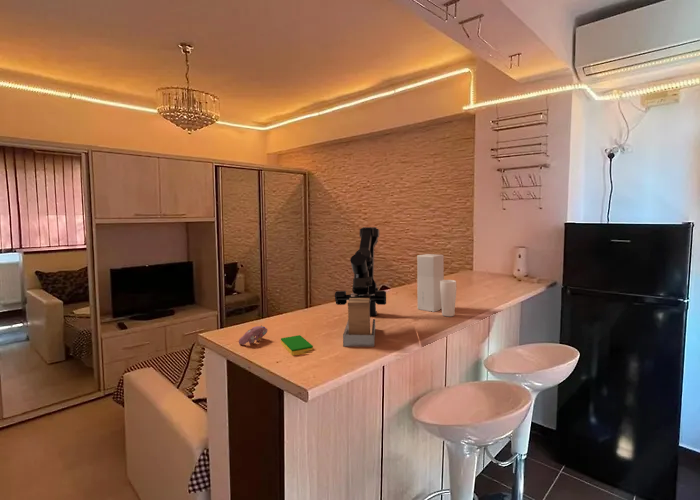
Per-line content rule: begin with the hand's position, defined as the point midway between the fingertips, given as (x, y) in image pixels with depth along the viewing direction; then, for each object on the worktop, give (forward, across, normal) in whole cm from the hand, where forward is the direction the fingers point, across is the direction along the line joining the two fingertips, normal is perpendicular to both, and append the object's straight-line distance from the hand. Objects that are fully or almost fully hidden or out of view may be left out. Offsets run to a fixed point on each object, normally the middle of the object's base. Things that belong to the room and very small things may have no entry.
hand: (360, 317), depth 138 cm
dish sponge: (+13, -21, -1) cm, 25 cm away
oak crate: (+8, 0, +2) cm, 8 cm away
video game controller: (+8, -38, +3) cm, 39 cm away
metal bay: (+6, 0, +5) cm, 8 cm away
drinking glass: (-17, +36, +28) cm, 49 cm away
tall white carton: (-26, +30, +37) cm, 54 cm away
